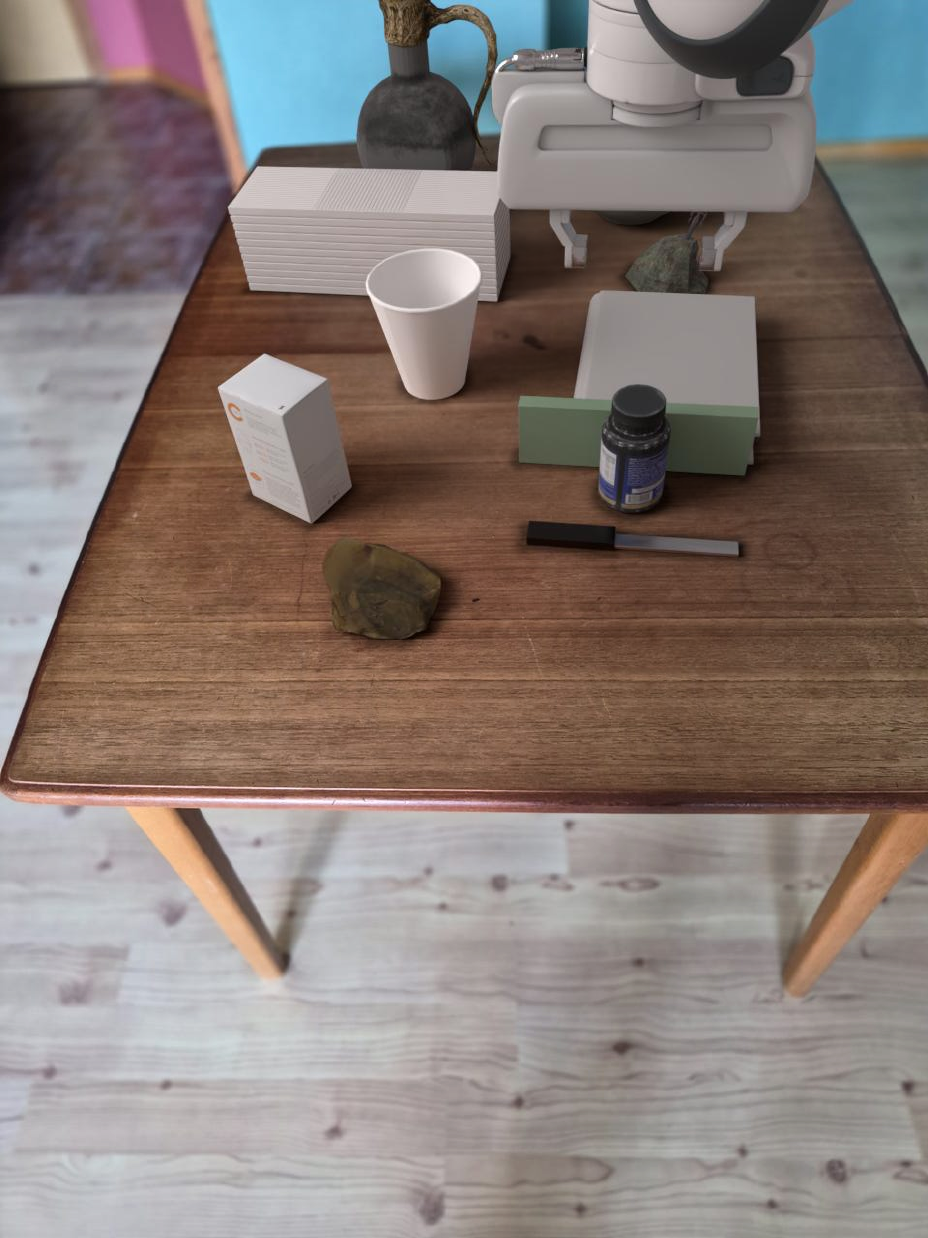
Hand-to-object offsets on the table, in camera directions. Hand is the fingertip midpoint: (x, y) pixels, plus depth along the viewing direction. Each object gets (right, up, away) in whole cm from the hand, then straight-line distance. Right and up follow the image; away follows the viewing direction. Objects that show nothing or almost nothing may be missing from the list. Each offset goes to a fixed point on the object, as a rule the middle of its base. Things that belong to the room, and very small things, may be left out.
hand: (641, 265), depth 63 cm
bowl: (+10, +30, +57) cm, 65 cm away
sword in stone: (+12, +16, +45) cm, 50 cm away
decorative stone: (-20, -24, +16) cm, 35 cm away
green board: (+4, -10, +25) cm, 27 cm away
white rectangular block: (+9, 0, +32) cm, 34 cm away
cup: (-16, +1, +35) cm, 39 cm away
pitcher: (-17, +32, +61) cm, 70 cm away
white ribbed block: (-23, +19, +51) cm, 59 cm away
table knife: (+2, -18, +18) cm, 26 cm away
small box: (-29, -13, +25) cm, 40 cm away
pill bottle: (+3, -13, +22) cm, 26 cm away
